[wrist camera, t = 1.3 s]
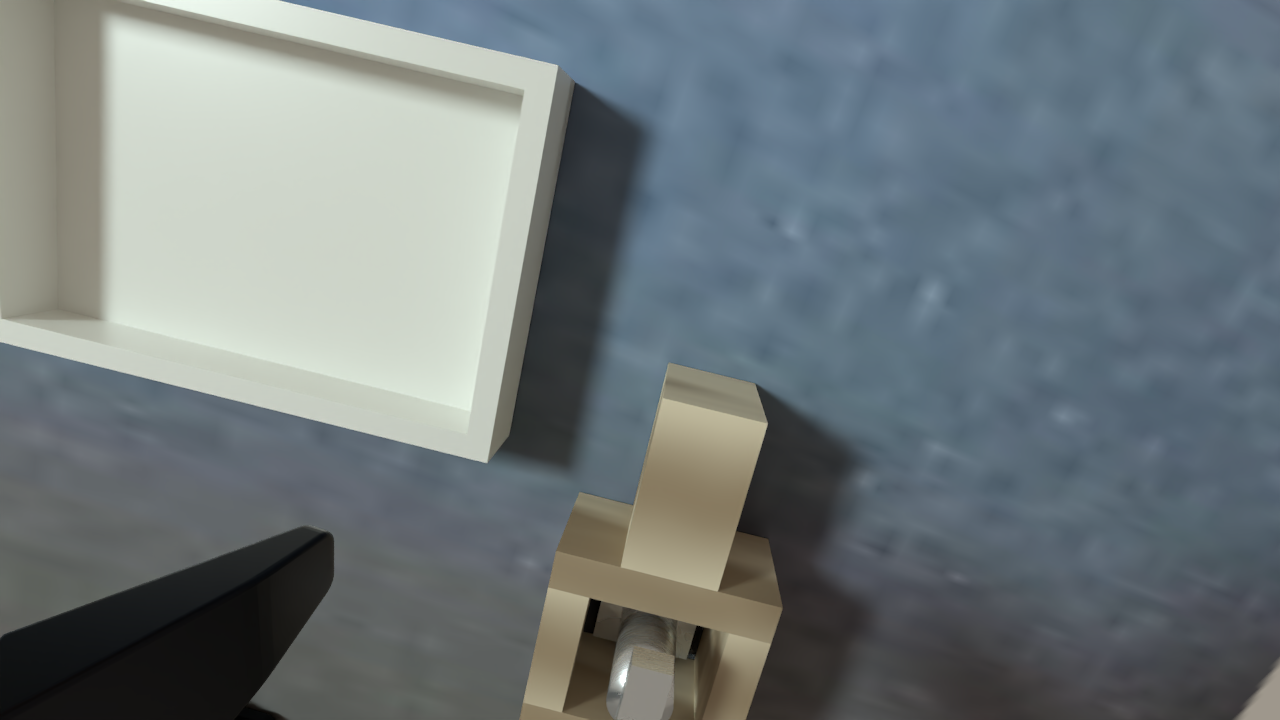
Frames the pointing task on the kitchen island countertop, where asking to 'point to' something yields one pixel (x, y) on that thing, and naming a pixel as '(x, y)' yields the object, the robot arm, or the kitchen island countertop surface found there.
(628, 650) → the t stake
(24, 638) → the robot arm
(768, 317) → the kitchen island countertop surface
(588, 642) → the birch collar
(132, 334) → the tray
